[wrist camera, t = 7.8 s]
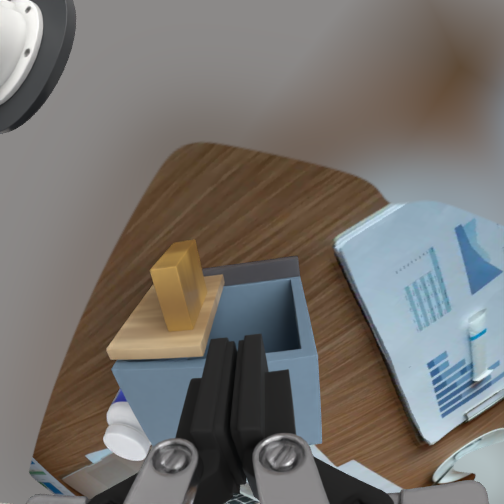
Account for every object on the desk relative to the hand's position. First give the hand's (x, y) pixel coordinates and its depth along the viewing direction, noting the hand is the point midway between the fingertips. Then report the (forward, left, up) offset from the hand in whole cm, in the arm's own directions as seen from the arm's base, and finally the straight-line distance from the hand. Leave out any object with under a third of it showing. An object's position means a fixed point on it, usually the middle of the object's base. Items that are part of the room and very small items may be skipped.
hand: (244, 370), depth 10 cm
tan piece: (+1, -6, -15) cm, 16 cm away
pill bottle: (+14, -13, -16) cm, 25 cm away
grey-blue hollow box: (+8, -3, -16) cm, 18 cm away
